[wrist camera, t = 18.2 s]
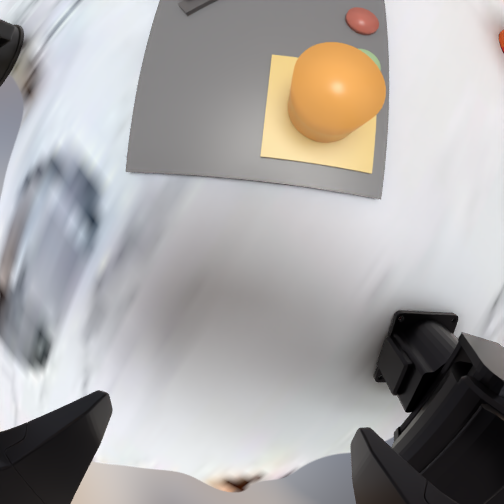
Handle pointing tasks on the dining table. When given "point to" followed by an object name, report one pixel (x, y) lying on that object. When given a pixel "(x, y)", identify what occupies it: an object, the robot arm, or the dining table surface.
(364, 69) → the cap
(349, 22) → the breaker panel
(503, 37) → the paper cup
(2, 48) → the french press
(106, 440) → the dining table surface
